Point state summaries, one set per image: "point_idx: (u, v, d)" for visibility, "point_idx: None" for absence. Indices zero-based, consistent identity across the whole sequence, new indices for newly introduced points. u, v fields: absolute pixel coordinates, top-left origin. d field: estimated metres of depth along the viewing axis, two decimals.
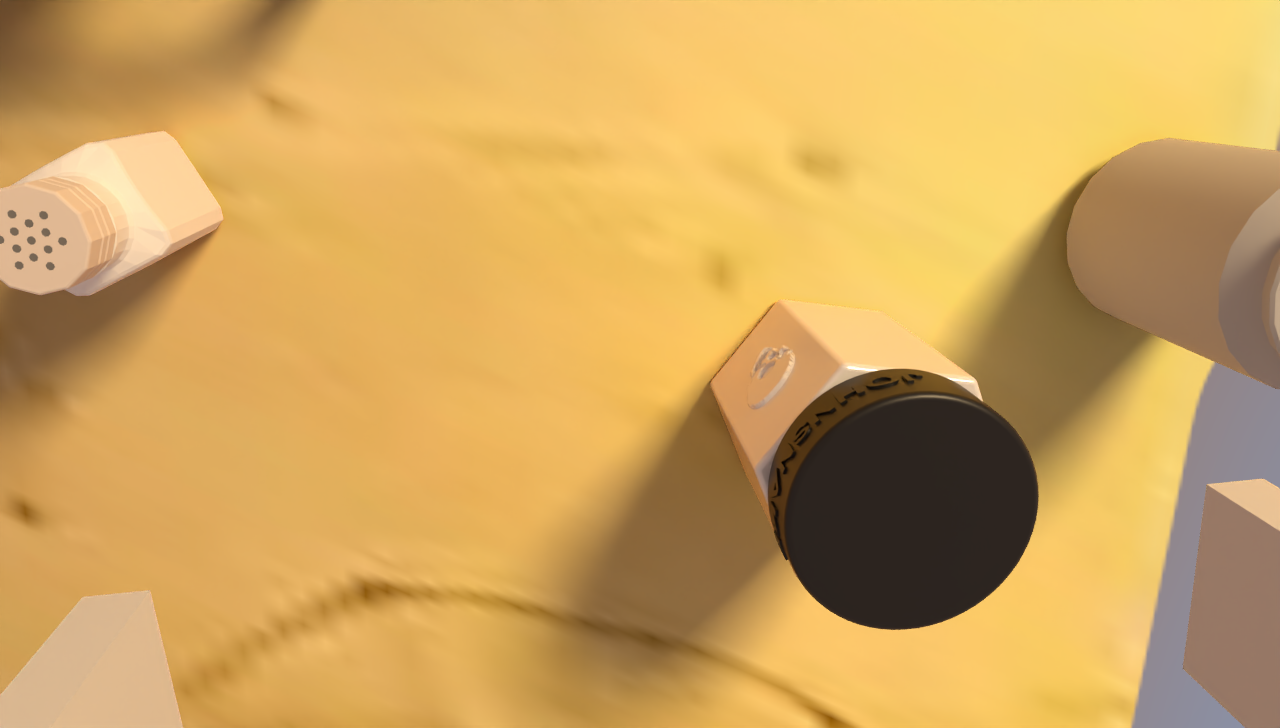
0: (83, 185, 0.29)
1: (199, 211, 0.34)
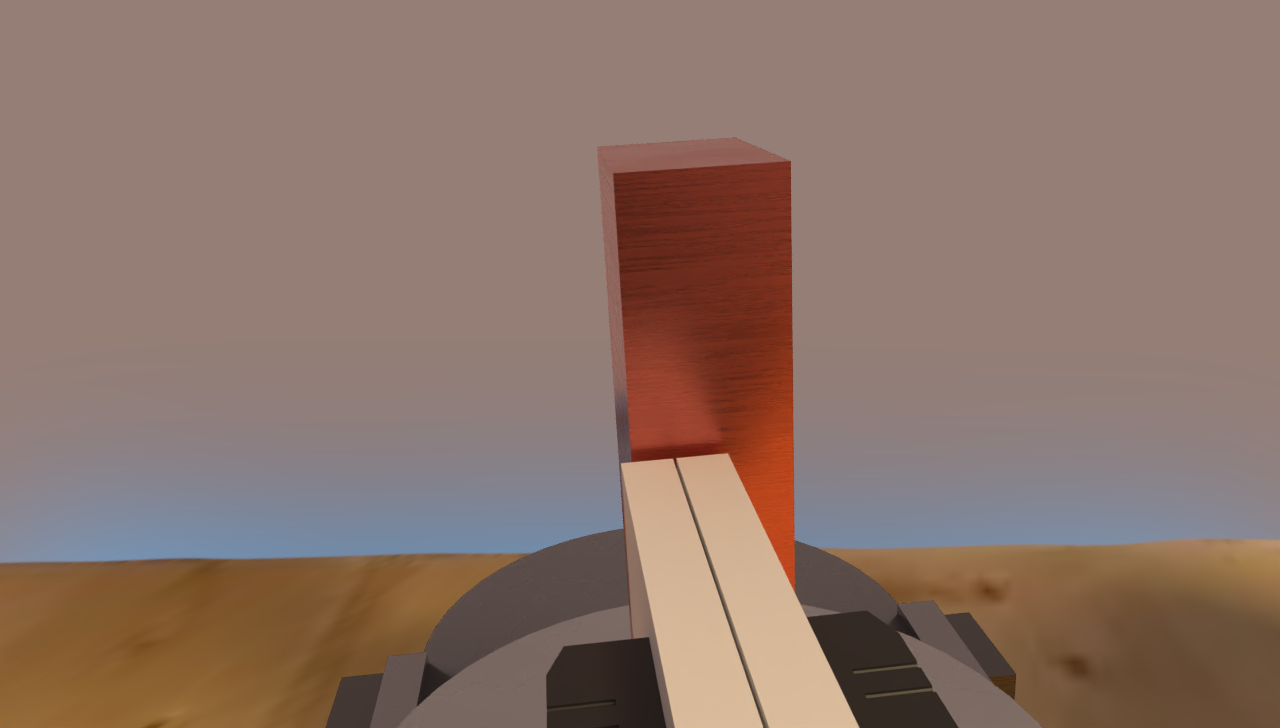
0: None
1: None
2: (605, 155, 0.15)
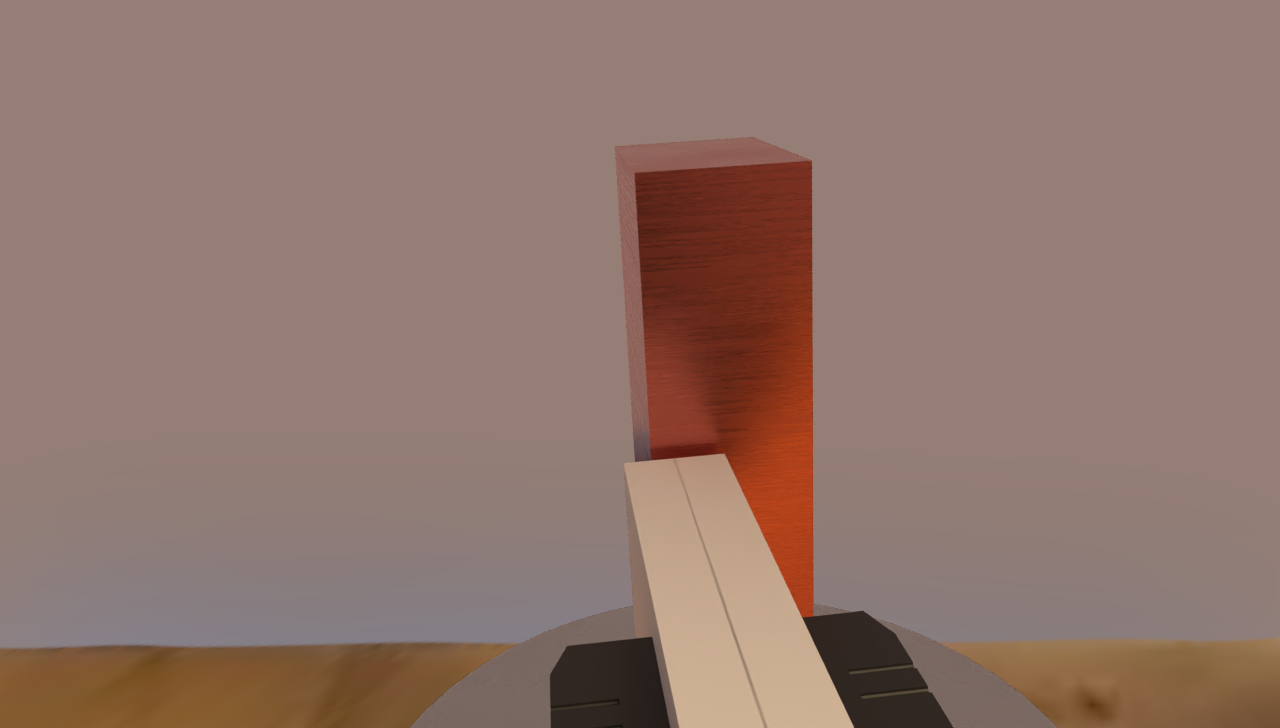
0: None
1: None
2: (624, 155, 0.15)
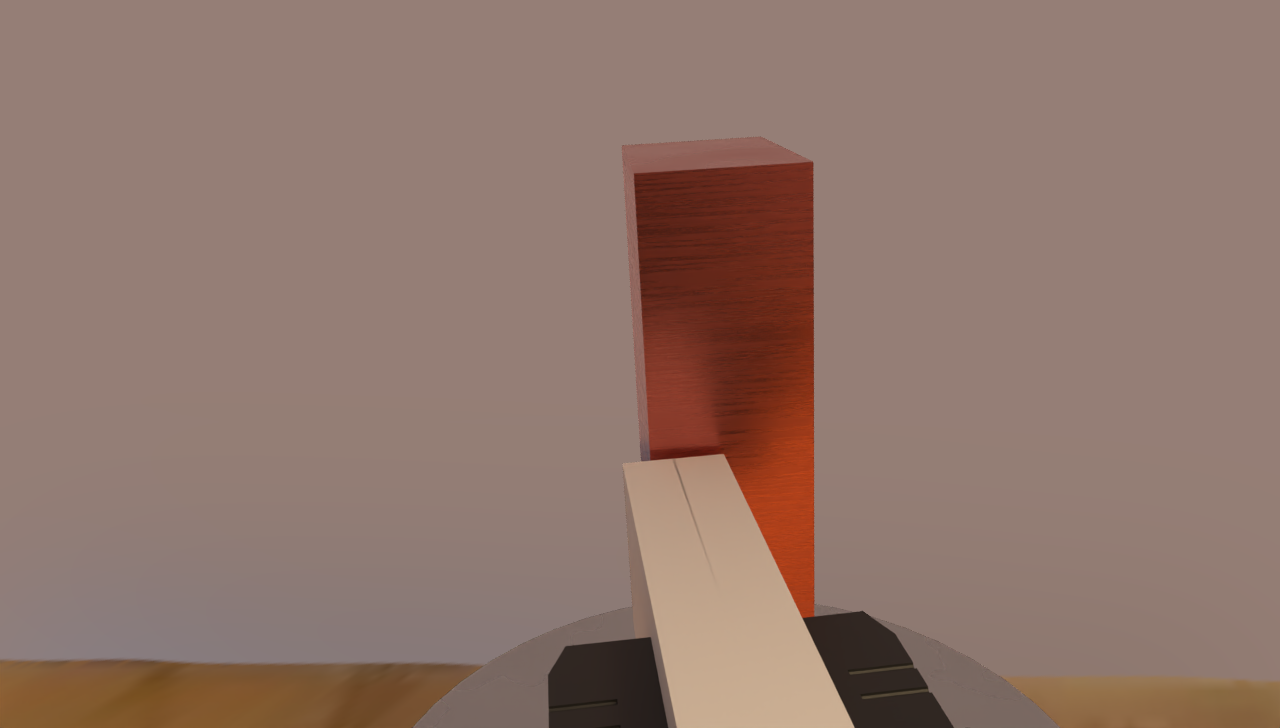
0: None
1: None
2: (628, 154, 0.15)
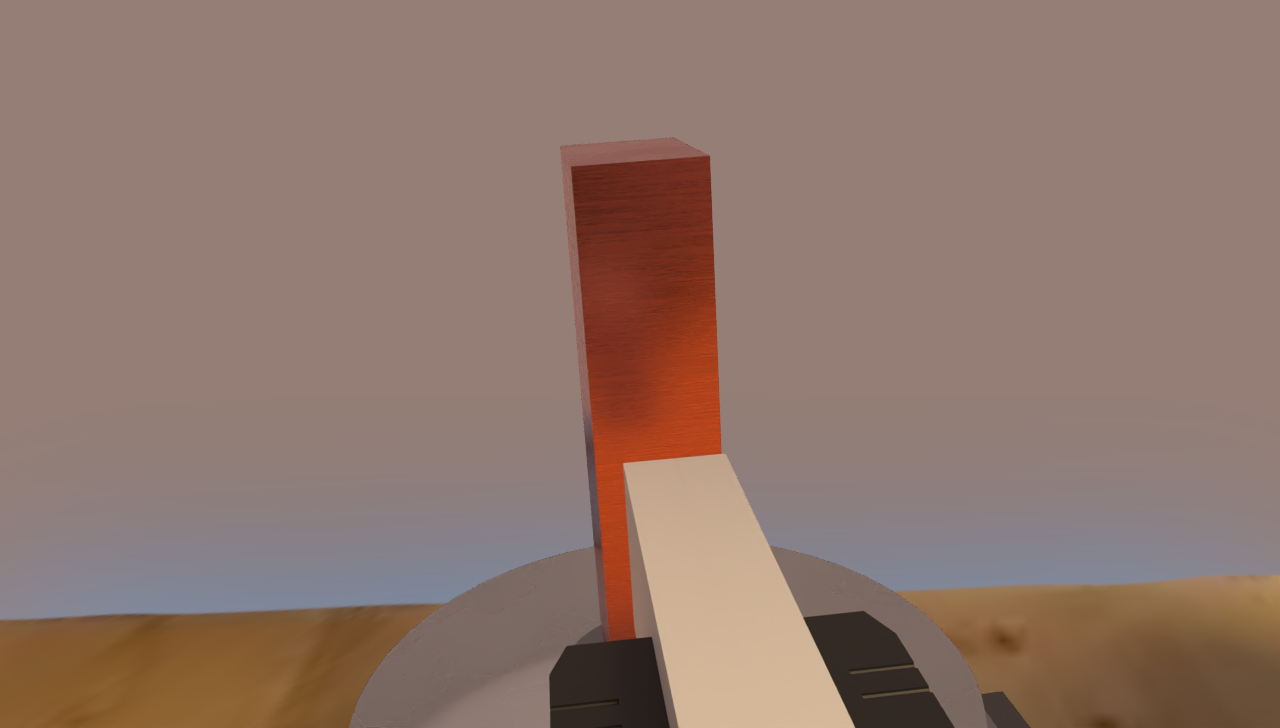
0: None
1: None
2: (566, 152, 0.19)
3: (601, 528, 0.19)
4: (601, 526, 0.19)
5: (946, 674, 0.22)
